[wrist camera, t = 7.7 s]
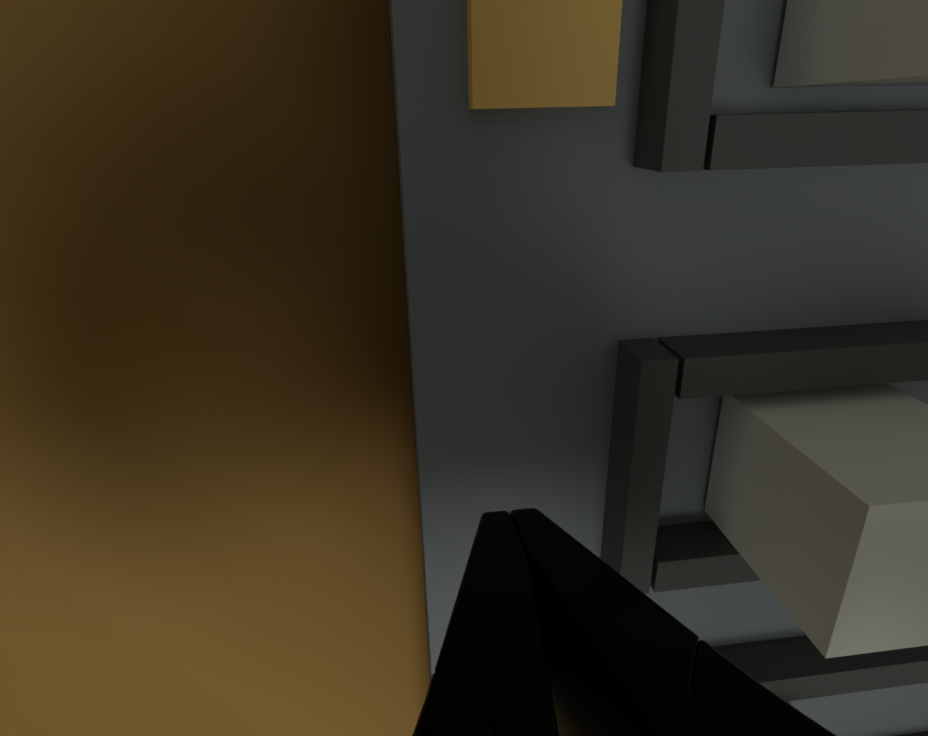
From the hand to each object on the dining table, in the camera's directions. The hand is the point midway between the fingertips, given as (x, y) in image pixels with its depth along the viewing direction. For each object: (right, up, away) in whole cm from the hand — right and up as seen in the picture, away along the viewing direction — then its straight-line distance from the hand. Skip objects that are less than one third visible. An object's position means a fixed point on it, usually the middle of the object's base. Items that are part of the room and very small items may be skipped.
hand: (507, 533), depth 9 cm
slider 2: (+5, +1, +2) cm, 6 cm away
